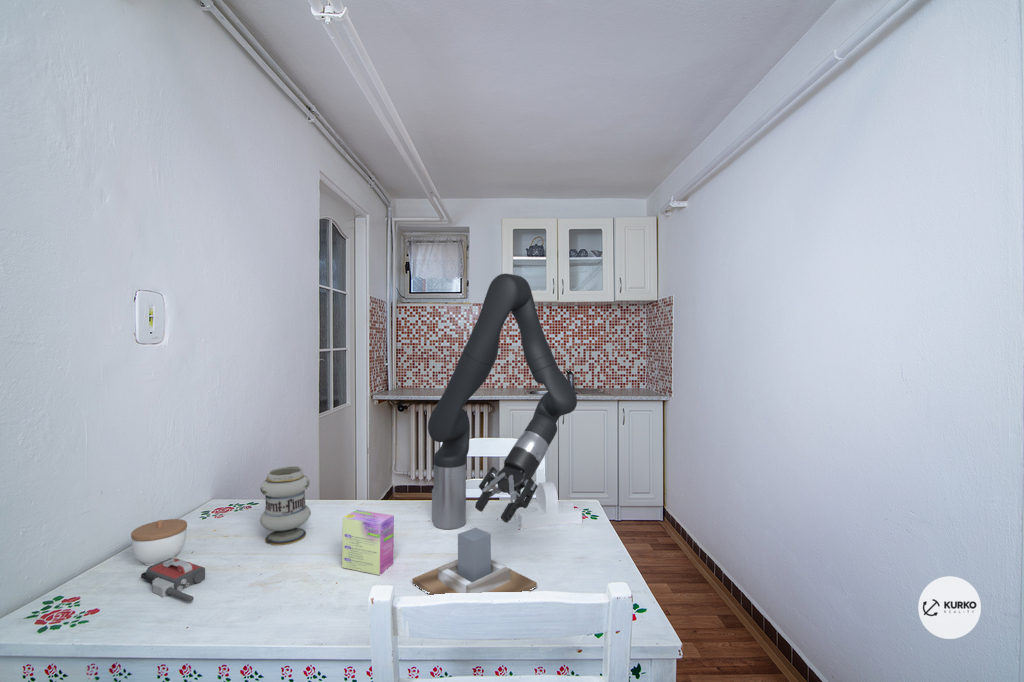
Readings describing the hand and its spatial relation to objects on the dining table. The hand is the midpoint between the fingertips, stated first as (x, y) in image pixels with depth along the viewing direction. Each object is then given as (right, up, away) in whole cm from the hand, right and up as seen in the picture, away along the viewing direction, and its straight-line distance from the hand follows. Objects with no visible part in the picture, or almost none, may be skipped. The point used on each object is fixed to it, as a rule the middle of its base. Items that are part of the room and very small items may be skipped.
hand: (490, 515), depth 104 cm
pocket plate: (-3, -14, -3) cm, 15 cm away
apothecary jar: (-56, -14, +21) cm, 61 cm away
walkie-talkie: (-67, -14, -3) cm, 68 cm away
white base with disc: (+15, -14, +34) cm, 40 cm away
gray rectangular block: (-3, -13, -3) cm, 14 cm away
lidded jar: (-80, -14, +8) cm, 81 cm away
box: (-29, -14, +5) cm, 32 cm away
